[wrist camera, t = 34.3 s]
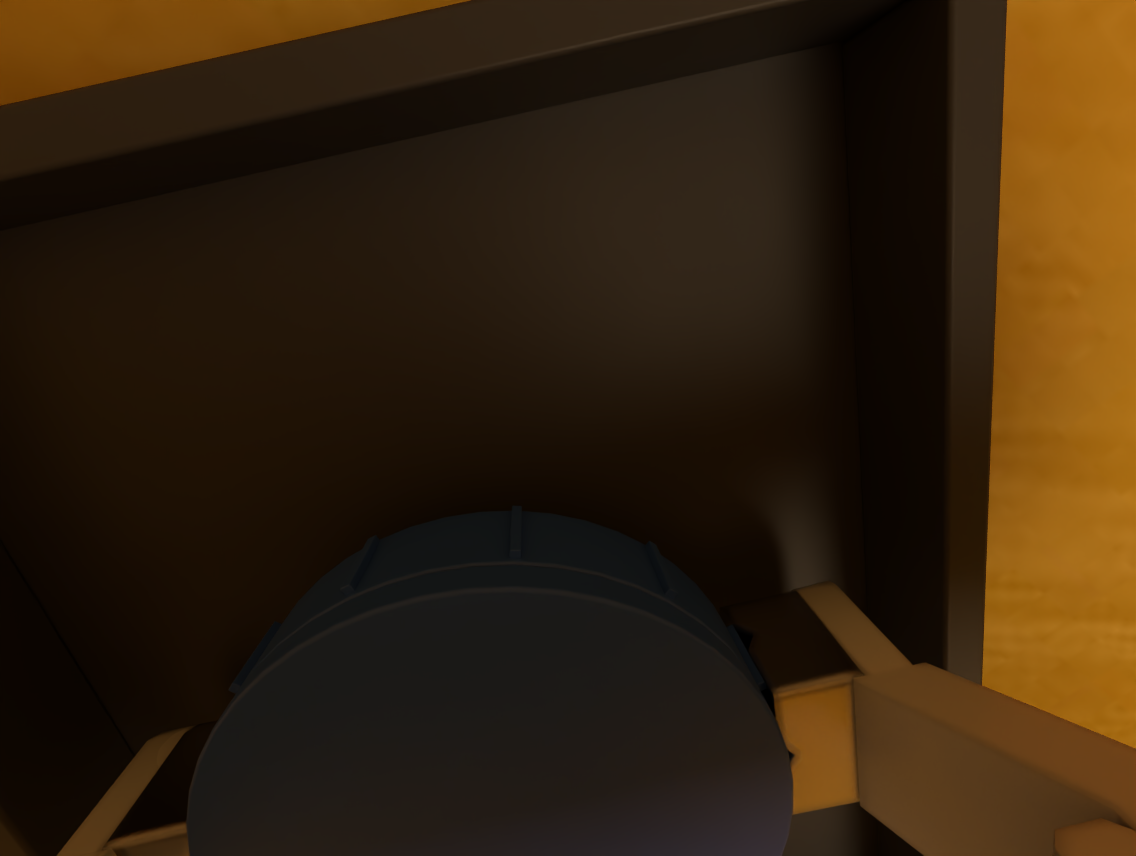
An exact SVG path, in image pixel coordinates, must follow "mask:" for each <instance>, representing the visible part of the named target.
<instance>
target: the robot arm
mask: <svg viewBox="0 0 1136 856" xmlns="http://www.w3.org/2000/svg"><path fill="white" fill-rule="evenodd" d="M719 615H720V617H721V619H722V620H723V622H724V624H725V626H726V627H727V626H729V625H733V626H734V628H735V630H736V631H737V633H738V635H739V637H740V639H741V640H742V642H743V644H744V646H745V647H746V649H747V651H748V653H749V655H750V656H751V658H752V660H753V662H754V664H755V665H756V667H757V669H758V671H759V673H760V674H761V676H762V678H763V680H764V682H765V684H766V689H765V690H763V691H761V693H762V695H763V696H764V698H765V700H766V702H767V704H768V705H769V707H770V709H771V711H772V713H773V715H774V717H775V718H776V720H777V722H778V725H779V728H780V730H781V733H782V736H783V738H784V741H785V744H786V746H787V749H788V754H789V759H790V765H791V770H792V776H793V813H792V815H794V814H799V813H804V812H809V811H814V810H819V809H824V808H829V807H834V806H839V805H844V804H850V803H855V802H860V806H861V807H862V808H864V809H865V810H866V811H867V812H869V813H870V814H871V815H873V816H874V817H875V818H876V819H878V820H879V821H880V822H881V823H883V824H884V825H885V826H887V827H888V828H889V829H890V830H892V831H893V832H894V833H896V834H897V835H898V836H899V837H901V838H902V839H903V840H904V841H906V842H907V843H908V844H910V845H911V846H912V847H913V848H915V849H916V850H917V851H919V852H920V853H921V854H922V855H924V856H1136V749H1135V748H1132V747H1130V746H1128V745H1125V744H1123V743H1120V742H1118V741H1115V740H1113V739H1111V738H1108V737H1106V736H1103V735H1101V734H1098V733H1096V732H1094V731H1091V730H1089V729H1086V728H1084V727H1081V726H1079V725H1077V724H1074V723H1072V722H1069V721H1067V720H1064V719H1062V718H1060V717H1057V716H1055V715H1052V714H1050V713H1047V712H1045V711H1043V710H1040V709H1038V708H1035V707H1033V706H1030V705H1028V704H1026V703H1023V702H1021V701H1018V700H1016V699H1013V698H1011V697H1008V696H1006V695H1004V694H1001V693H999V692H996V691H994V690H991V689H989V688H987V687H984V686H982V685H979V684H977V683H974V682H972V681H970V680H967V679H965V678H962V677H960V676H957V675H955V674H953V673H950V672H948V671H945V670H943V669H940V668H938V667H936V666H933V665H931V664H928V663H926V662H925V663H920V664H915V665H913V664H912V663H911V662H910V661H909V660H908V659H907V658H906V657H905V656H904V655H903V654H902V653H901V652H900V651H899V650H898V649H897V648H896V647H895V646H894V645H893V644H892V642H891V641H890V640H889V639H888V638H887V637H886V636H885V635H884V634H883V633H882V632H881V631H880V630H879V629H878V628H877V627H876V626H875V625H874V624H873V623H872V622H871V621H870V619H869V618H868V617H867V616H866V615H865V614H864V613H863V612H862V611H861V610H860V609H859V608H858V607H857V606H856V605H855V604H854V603H853V602H852V601H851V600H850V599H849V598H848V596H847V595H846V594H845V593H844V592H843V591H842V590H841V589H840V588H839V587H838V586H837V585H836V584H835V583H832V582H830V581H824V582H820V583H816V584H812V585H808V586H804V587H800V588H796V589H792V591H788V592H784V593H779V594H775V595H771V596H767V597H762V598H758V599H754V600H750V601H745V602H741V603H737V604H732V605H728V606H724V607H720V614H719ZM217 721H218V720H216V721H211V722H206V723H202V724H198V725H196V726H190V727H185V728H180V729H175V730H170V731H166V732H162V733H160V734H158V735H156V736H155V737H153V738H151V739H149V740H148V741H147V742H146V743H145V744H144V745H143V747H142V748H141V749H140V751H139V752H138V753H137V754H136V756H135V757H134V758H133V759H132V761H131V762H130V763H129V765H128V766H127V767H126V768H125V770H124V771H123V772H122V773H121V775H120V776H119V777H118V778H117V780H116V781H115V782H114V784H113V785H112V786H111V787H110V789H109V790H108V791H107V792H106V794H105V795H104V796H103V798H102V799H101V800H100V801H99V803H98V804H97V805H96V806H95V808H94V809H93V810H92V811H91V813H90V814H89V815H88V817H87V818H86V819H85V820H84V822H83V823H82V824H81V825H80V827H79V828H78V829H77V831H76V832H75V833H74V834H73V836H72V837H71V838H70V839H69V841H68V842H67V843H66V844H65V846H64V847H63V848H62V850H61V851H60V852H59V853H58V855H57V856H190V855H189V846H188V837H187V828H186V820H187V808H188V797H189V789H190V786H191V782H192V778H193V775H194V771H195V768H196V764H197V761H198V758H199V756H200V754H201V752H202V749H203V747H204V745H205V743H206V741H207V739H208V737H209V735H210V733H211V731H212V729H213V727H214V726H215V724H216V723H217Z"/></svg>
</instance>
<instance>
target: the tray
mask: <svg viewBox="0 0 1136 856" xmlns="http://www.w3.org/2000/svg"><path fill="white" fill-rule="evenodd" d="M1006 13H1007V0H471V1H466V2H462V3H457V4H453V5H449V6H444V7H440V8H435V9H431V10H426V11H422V12H417V13H413V14H408V15H404V16H399V17H395V18H391V19H386V20H382V21H377V22H373V23H368V24H364V25H359V26H355V27H350V28H346V29H341V30H337V31H332V32H328V33H324V34H319V35H315V36H310V37H306V38H301V39H297V40H292V41H288V42H283V43H279V44H274V45H270V46H266V47H261V48H257V49H252V50H248V51H243V52H239V53H234V54H230V55H225V56H221V57H216V58H212V59H207V60H203V61H199V62H194V63H190V64H185V65H181V66H176V67H172V68H167V69H163V70H158V71H154V72H149V73H145V74H141V75H136V76H132V77H127V78H123V79H118V80H114V81H109V82H105V83H100V84H96V85H91V86H87V87H82V88H78V89H74V90H69V91H65V92H60V93H56V94H51V95H47V96H42V97H38V98H33V99H29V100H24V101H20V102H16V103H11V104H7V105H2V106H0V856H57V855H58V853H59V852H60V851H61V850H62V848H63V847H64V846H65V844H66V843H67V842H68V841H69V839H70V838H71V837H72V836H73V834H74V833H75V832H76V831H77V829H78V828H79V827H80V825H81V824H82V823H83V822H84V820H85V819H86V818H87V817H88V815H89V814H90V813H91V811H92V810H93V809H94V808H95V806H96V805H97V804H98V803H99V801H100V800H101V799H102V798H103V796H104V795H105V794H106V792H107V791H108V790H109V789H110V787H111V786H112V785H113V784H114V782H115V781H116V780H117V778H118V777H119V776H120V775H121V773H122V772H123V771H124V770H125V768H126V767H127V766H128V765H129V763H130V762H131V761H132V759H133V758H134V757H135V756H136V754H137V753H138V752H139V751H140V749H141V748H142V747H143V745H144V744H145V743H146V742H147V741H148V740H149V739H151V738H153V737H155V736H156V735H158V734H160V733H162V732H166V731H170V730H175V729H180V728H185V727H190V726H196V725H198V724H202V723H206V722H211V721H216V720H219V718H220V717H221V715H222V714H223V712H224V711H225V709H226V707H227V706H228V704H229V703H230V701H231V700H232V699H233V697H234V696H235V693H233V692H231V691H229V688H230V686H231V684H232V683H233V681H234V680H235V678H236V677H237V675H238V674H239V672H240V671H241V669H242V668H243V667H244V665H245V664H246V662H247V661H248V659H249V658H250V656H251V655H252V653H253V652H254V651H255V649H256V648H257V646H258V645H259V643H260V642H261V640H262V639H263V637H264V636H265V634H266V633H267V632H268V630H269V629H270V627H271V626H272V624H273V623H274V622H275V621H276V622H278V623H281V624H282V623H283V622H284V620H285V619H286V617H287V616H288V615H289V613H290V612H291V610H292V609H293V608H294V606H295V605H296V603H297V602H298V601H299V600H300V599H301V598H302V597H303V596H304V595H305V594H306V593H307V591H308V590H309V589H310V588H311V587H312V586H313V585H314V584H315V583H316V582H317V581H318V580H319V579H320V578H321V577H323V576H324V575H325V574H327V573H328V572H329V571H330V570H332V569H333V568H334V567H336V566H337V565H338V564H340V563H341V562H342V561H343V560H345V559H346V558H348V557H349V556H351V555H353V554H355V553H356V552H358V551H360V550H361V549H363V547H364V545H365V543H366V541H367V540H368V538H371V537H373V536H375V535H377V537H378V538H379V540H380V539H382V538H385V537H387V536H389V535H392V534H394V533H397V532H399V531H401V530H404V529H406V528H409V527H412V526H415V525H419V524H422V523H426V522H430V521H433V520H437V519H440V518H444V517H450V516H456V515H463V514H469V513H476V512H487V511H512V506H522V511H528V512H540V513H552V514H557V515H562V516H566V517H571V518H576V519H581V520H586V521H589V522H592V523H595V524H598V525H600V526H603V527H606V528H609V529H612V530H615V531H618V532H620V533H622V534H624V535H626V536H628V537H630V538H632V539H634V540H636V541H638V542H641V543H643V544H645V545H646V544H647V543H648V541H651V542H653V543H654V544H656V545H657V548H658V550H659V552H660V554H661V555H662V556H663V557H665V558H666V559H668V560H669V561H671V562H672V563H674V564H675V565H676V566H677V567H678V568H679V569H680V570H682V571H683V572H684V573H685V574H686V575H687V576H688V577H689V578H690V579H691V580H693V581H694V582H695V583H696V584H697V586H698V587H699V588H700V589H701V590H702V592H703V593H704V594H705V595H706V597H707V598H708V599H709V600H710V601H711V603H712V604H713V605H714V607H715V609H716V610H717V612H718V614H720V607H724V606H728V605H732V604H737V603H741V602H745V601H750V600H754V599H758V598H762V597H767V596H771V595H775V594H779V593H784V592H788V591H792V589H796V588H800V587H804V586H808V585H812V584H816V583H820V582H824V581H830V582H832V583H835V584H836V585H837V586H838V587H839V588H840V589H841V590H842V591H843V592H844V593H845V594H846V595H847V596H848V598H849V599H850V600H851V601H852V602H853V603H854V604H855V605H856V606H857V607H858V608H859V609H860V610H861V611H862V612H863V613H864V614H865V615H866V616H867V617H868V618H869V619H870V621H871V622H872V623H873V624H874V625H875V626H876V627H877V628H878V629H879V630H880V631H881V632H882V633H883V634H884V635H885V636H886V637H887V638H888V639H889V640H890V641H891V642H892V644H893V645H894V646H895V647H896V648H897V649H898V650H899V651H900V652H901V653H902V654H903V655H904V656H905V657H906V658H907V659H908V660H909V661H910V662H911V663H912V664H913V665H915V664H920V663H925V662H926V663H928V664H931V665H933V666H936V667H938V668H940V669H943V670H945V671H948V672H950V673H953V674H955V675H957V676H960V677H962V678H965V679H967V680H970V681H972V682H974V683H977V684H979V685H982V665H983V638H984V610H985V583H986V556H987V529H988V502H989V475H990V447H991V420H992V393H993V366H994V339H995V312H996V284H997V257H998V230H999V203H1000V176H1001V149H1002V121H1003V94H1004V67H1005V40H1006ZM782 856H924V855H922V854H921V853H920V852H919V851H917V850H916V849H915V848H913V847H912V846H911V845H910V844H908V843H907V842H906V841H904V840H903V839H902V838H901V837H899V836H898V835H897V834H896V833H894V832H893V831H892V830H890V829H889V828H888V827H887V826H885V825H884V824H883V823H881V822H880V821H879V820H878V819H876V818H875V817H874V816H873V815H871V814H870V813H869V812H867V811H866V810H865V809H864V808H862V807H861V806H860V802H855V803H850V804H844V805H839V806H834V807H829V808H824V809H819V810H814V811H809V812H804V813H799V814H794V815H792V818H791V824H790V830H789V836H788V839H787V842H786V845H785V848H784V851H783V854H782Z"/></svg>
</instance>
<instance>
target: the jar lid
mask: <svg viewBox="0 0 1136 856" xmlns="http://www.w3.org/2000/svg"><path fill="white" fill-rule="evenodd" d="M765 689H766V684H765V682H764V680H763V678H762V676H761V674H760V673H759V671H758V669H757V667H756V665H755V664H754V662H753V660H752V658H751V656H750V655H749V653H748V651H747V649H746V647H745V646H744V644H743V642H742V640H741V639H740V637H739V635H738V633H737V631H736V630H735V628H734V626H733V625H729V626H727V627H726V626H725V624H724V622H723V620H722V619H721V617H720V615H719V614H718V612H717V610H716V609H715V607H714V605H713V604H712V603H711V601H710V600H709V599H708V598H707V597H706V595H705V594H704V593H703V592H702V590H701V589H700V588H699V587H698V586H697V584H696V583H695V582H694V581H693V580H691V579H690V578H689V577H688V576H687V575H686V574H685V573H684V572H683V571H682V570H680V569H679V568H678V567H677V566H676V565H675V564H674V563H672V562H671V561H669V560H668V559H666V558H665V557H663V556H662V555H661V554H660V552H659V550H658V548H657V545H656V544H654V543H653V542H651V541H648V543H647V544H646V545H645V544H643V543H641V542H638V541H636V540H634V539H632V538H630V537H628V536H626V535H624V534H622V533H620V532H618V531H615V530H612V529H609V528H606V527H603V526H600V525H598V524H595V523H592V522H589V521H586V520H581V519H576V518H571V517H566V516H562V515H557V514H552V513H540V512H528V511H522V506H512V511H487V512H476V513H469V514H463V515H456V516H450V517H444V518H440V519H437V520H433V521H430V522H426V523H422V524H419V525H415V526H412V527H409V528H406V529H404V530H401V531H399V532H397V533H394V534H392V535H389V536H387V537H385V538H382V539H380V540H379V538H378V537H377V535H375V536H373V537H371V538H368V540H367V541H366V543H365V545H364V547H363V549H361V550H360V551H358V552H356V553H355V554H353V555H351V556H349V557H348V558H346V559H345V560H343V561H342V562H341V563H340V564H338V565H337V566H336V567H334V568H333V569H332V570H330V571H329V572H328V573H327V574H325V575H324V576H323V577H321V578H320V579H319V580H318V581H317V582H316V583H315V584H314V585H313V586H312V587H311V588H310V589H309V590H308V591H307V593H306V594H305V595H304V596H303V597H302V598H301V599H300V600H299V601H298V602H297V603H296V605H295V606H294V608H293V609H292V610H291V612H290V613H289V615H288V616H287V617H286V619H285V620H284V622H283V623H282V624H281V623H278V622H276V621H275V622H274V623H273V624H272V626H271V627H270V629H269V630H268V632H267V633H266V634H265V636H264V637H263V639H262V640H261V642H260V643H259V645H258V646H257V648H256V649H255V651H254V652H253V653H252V655H251V656H250V658H249V659H248V661H247V662H246V664H245V665H244V667H243V668H242V669H241V671H240V672H239V674H238V675H237V677H236V678H235V680H234V681H233V683H232V684H231V686H230V688H229V691H231V692H233V693H235V696H234V697H233V699H232V700H231V701H230V703H229V704H228V706H227V707H226V709H225V711H224V712H223V714H222V715H221V717H220V718H219V720H218V721H217V723H216V724H215V726H214V727H213V729H212V731H211V733H210V735H209V737H208V739H207V741H206V743H205V745H204V747H203V749H202V752H201V754H200V756H199V758H198V761H197V764H196V768H195V771H194V775H193V778H192V782H191V786H190V789H189V797H188V808H187V820H186V828H187V837H188V846H189V855H190V856H782V854H783V851H784V848H785V845H786V842H787V839H788V836H789V830H790V824H791V818H792V813H793V776H792V770H791V765H790V759H789V754H788V749H787V746H786V744H785V741H784V738H783V736H782V733H781V730H780V728H779V725H778V722H777V720H776V718H775V717H774V715H773V713H772V711H771V709H770V707H769V705H768V704H767V702H766V700H765V698H764V696H763V695H762V693H761V691H763V690H765Z"/></svg>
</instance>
